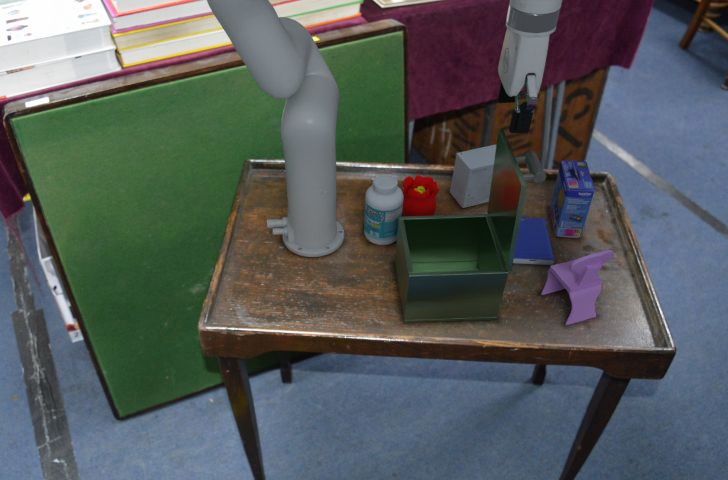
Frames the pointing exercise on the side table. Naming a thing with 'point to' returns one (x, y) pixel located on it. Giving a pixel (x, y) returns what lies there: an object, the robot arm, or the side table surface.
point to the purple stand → (579, 283)
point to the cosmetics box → (473, 176)
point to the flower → (419, 196)
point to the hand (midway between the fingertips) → (512, 116)
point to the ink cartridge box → (571, 199)
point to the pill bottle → (383, 210)
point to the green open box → (449, 268)
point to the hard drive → (533, 243)
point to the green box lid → (509, 194)
